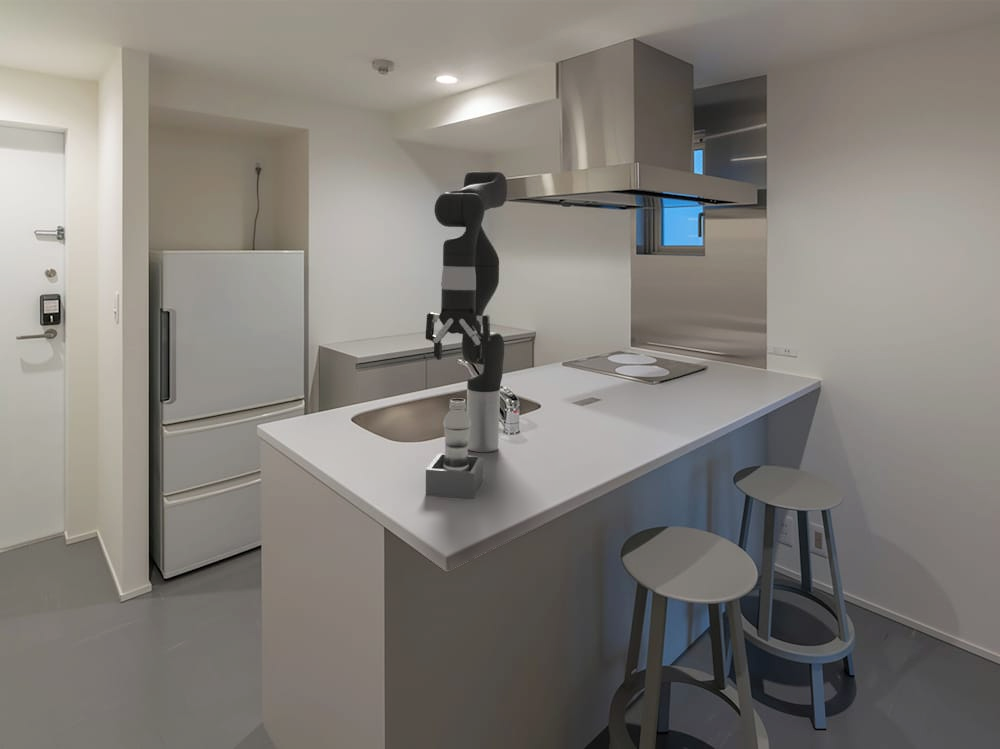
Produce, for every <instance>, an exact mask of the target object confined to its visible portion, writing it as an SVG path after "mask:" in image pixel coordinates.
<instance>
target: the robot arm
mask: <svg viewBox="0 0 1000 749" xmlns="http://www.w3.org/2000/svg"><path fill="white" fill-rule="evenodd" d="M507 196H508V183H507V177H506V176H505V174H504V173H502V172H501V171H497V170H495V171H494V170H492V171H491V170H490V171H489V170H487V171H486V170H485V171H484V170H482V171H481V170H478V171H477V170H471V171H468V172H467V173H465V176H464V179H463V188H461V189H459V190H451V191H446V192H443V193H441V194H440V195H439V196H438V197H437V199H436V201H435V204H434V216H435V218H436V220H437V222H438V223H439V224H440V225H441V226H444V227H448V228H465V231H464V232H463V234H461V235H460V236H457V237H451V238H447V239H445V240H444V242H443V245H442V246H443V247H442V273H441V281H440V282H441V283H440V287H441V304H440V307H441V311H440V313H434V312H429V313H427V314H426V322H425V323H426V326H425V339H426V340H427V341H431V342H432V343H433V356H434V358H436V360H438V361H441V360H442V358H443V342H442V339H443V338H444V337H445V336H446V335H447V334H448V333H450V334H453V335H454V334H460V335H462V338H461V339H462V340H461V353H462V357H463V360H465V361H466V363H468V364H473V365H474V364H475V365H482V366H483V370H482V373H480V374H477V375H474V376H471V377H469V378H468V379H467V386H466V387H467V389H466V390H467V393H466V413H467V414H468V416H469V418H470V421H471V427H470V433H469V439H468V450H469V451H471V452H476V453H491V452H495V451H497V450H498V449H499V435H500V408H501V407H500V406H501V383H502V379H503V373H504V361H505V360H504V357H505V341H504V338H503V336H502V334H500V333H498V332H495V331H492V332H491V328H490V327H491V323H490V322H491V321H490V315H489V314H485V315H484V312H485V309H486V308H487V306H488V304H489V303H490V301H491V300H492V297H493V296H494V294H495V292H496V291H497V288H498V286H499V282H500V281H499V280H500V258H499V255H498V253H497V251H496V249H495V247H494V246H493V244H492V242H491V241H490V239H489V238H488V236H487V234H486V232H485V230H484V228H483V226H482V224H483V219H484V217H485V212H486V211H488V210H491V209H495V208H500V207H503V206H504V204H505V203H506V201H507ZM438 320H439V321H440V322H441V324H442V327H441V328H440V330H439V331H438V333H437V334H436V335H435V334H434V332H435V323H438Z"/></svg>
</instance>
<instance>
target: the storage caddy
mask: <svg viewBox="0 0 1000 749" xmlns="http://www.w3.org/2000/svg"><path fill="white" fill-rule="evenodd" d="M444 458H445V452H444V453H443V452H439V453H438V454H436V456H435V457H434V459H433V460H432V461H431V462H430V464H429V465H428V466H427V467H426V469H425V495H426V496H436V497H448V498H456V499H457V498H460V499H468V500H469V499H471V500H473V499H475V497H476V494H477V493H478V491H479V489H480V487H481V484H482V482H483V477H484V475H483V474H484V456H481V455H468V464H469V470H470V471H458V470H445V469H443V464H444Z"/></svg>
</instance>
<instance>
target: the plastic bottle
mask: <svg viewBox="0 0 1000 749" xmlns="http://www.w3.org/2000/svg"><path fill="white" fill-rule="evenodd" d="M448 406H449V409H450V410H449V411H448V412H447V414H446V415H445V417H444V420H443V431H444V432H443V433H444V444H445V445H444V446H445V451H444V453H445V458H444V464H443V469H445V470H458V471H470V470H469V464H468V454H469V452H468V439H469V433H470V427H471V421H470V418H469V416H468V414H467V411H466V410H465V409H467V400H466V399H465V398H460V397H455V398H450V400H449V405H448Z"/></svg>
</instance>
